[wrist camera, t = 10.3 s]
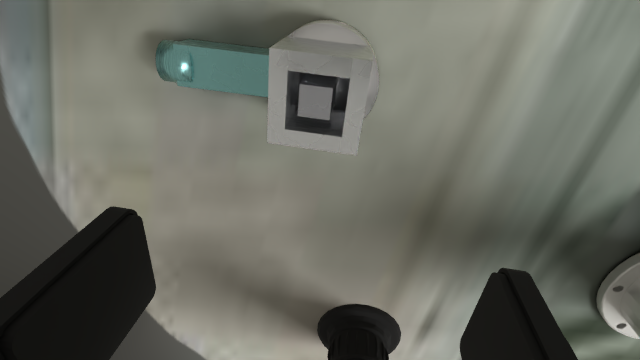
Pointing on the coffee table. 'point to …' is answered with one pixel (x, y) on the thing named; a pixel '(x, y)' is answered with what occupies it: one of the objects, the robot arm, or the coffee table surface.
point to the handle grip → (358, 333)
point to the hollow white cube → (284, 93)
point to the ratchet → (263, 69)
